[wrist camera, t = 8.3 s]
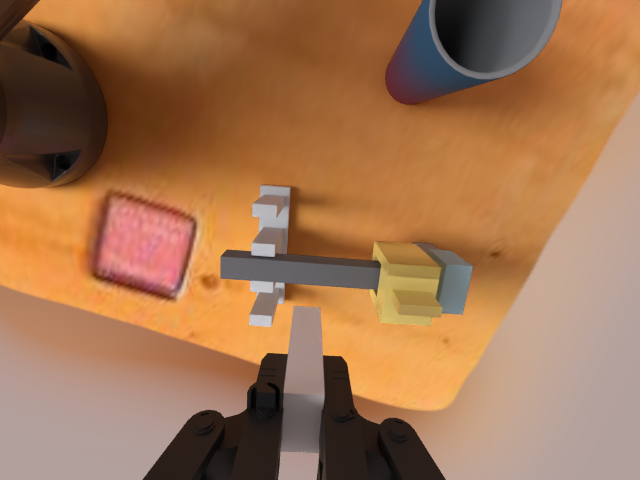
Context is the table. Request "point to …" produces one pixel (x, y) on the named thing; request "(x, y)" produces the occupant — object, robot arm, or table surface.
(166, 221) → the table surface
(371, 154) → the table surface
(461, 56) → the cup
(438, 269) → the sleeve
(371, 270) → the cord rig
